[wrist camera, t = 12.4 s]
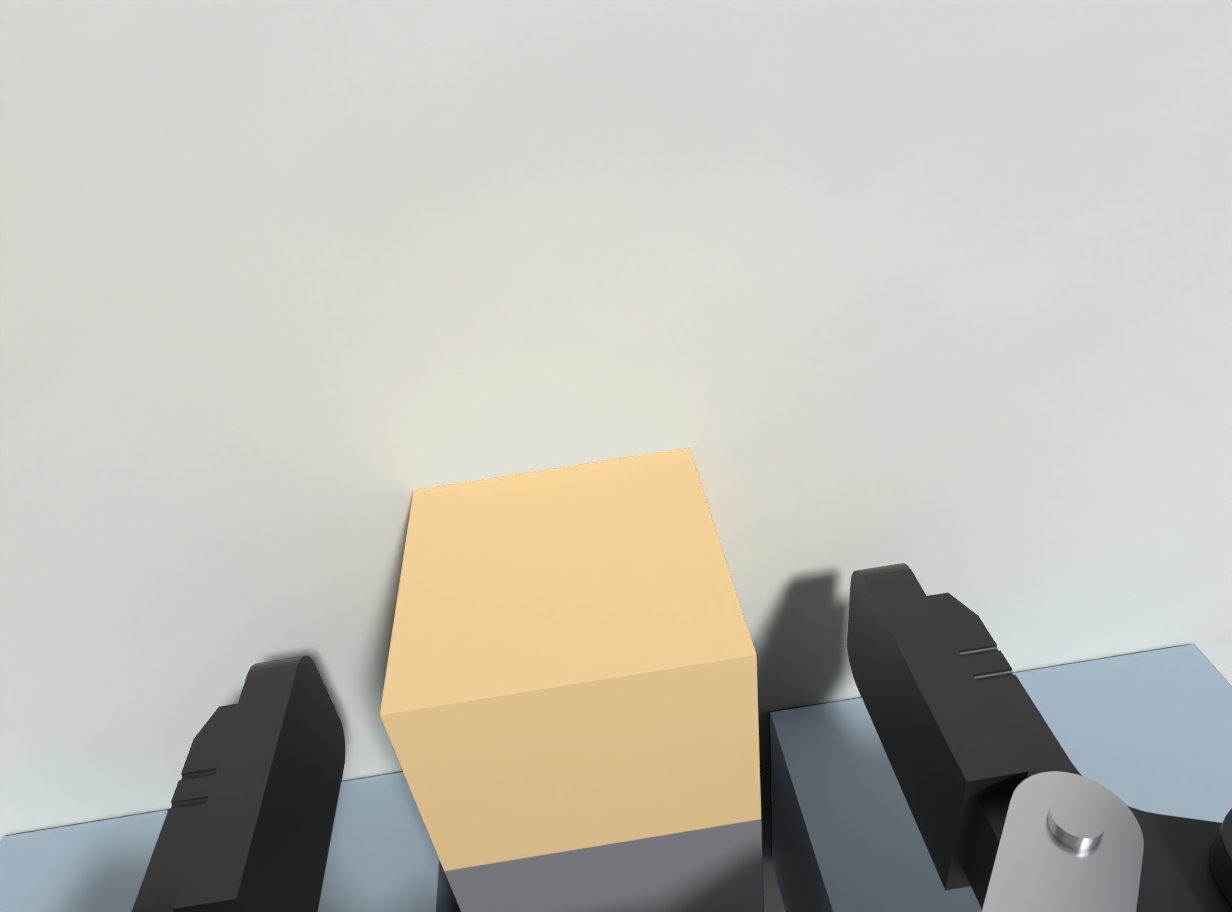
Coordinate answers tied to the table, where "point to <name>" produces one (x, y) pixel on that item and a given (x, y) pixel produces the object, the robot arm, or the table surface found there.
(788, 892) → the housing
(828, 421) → the table surface
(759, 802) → the bar
